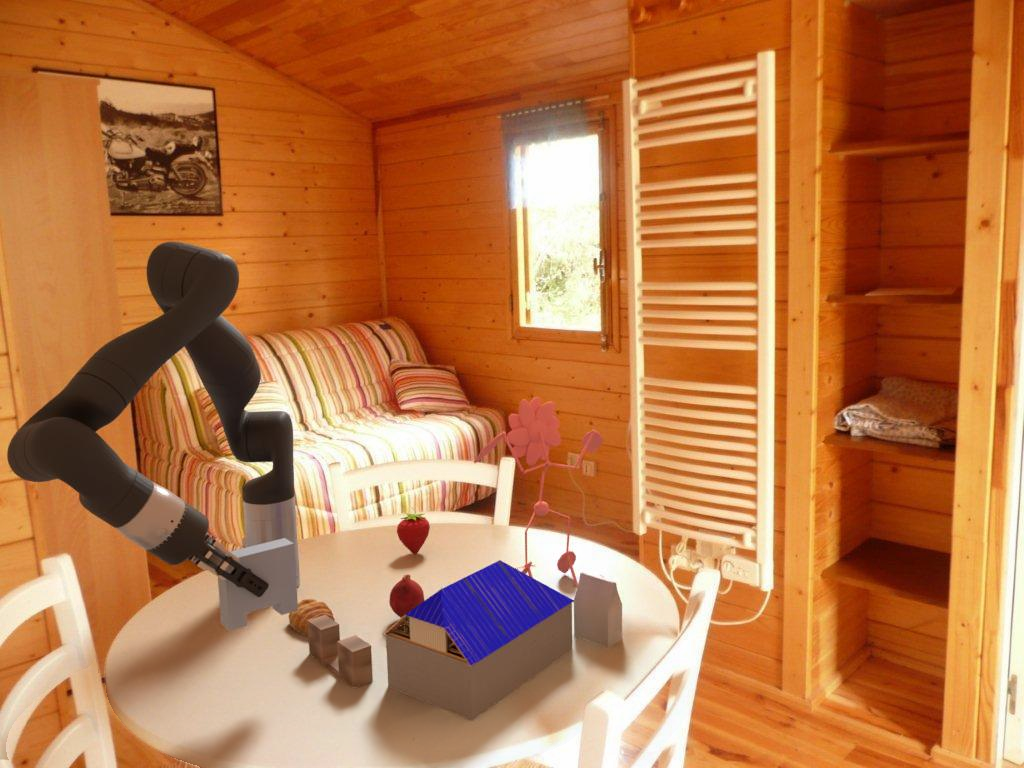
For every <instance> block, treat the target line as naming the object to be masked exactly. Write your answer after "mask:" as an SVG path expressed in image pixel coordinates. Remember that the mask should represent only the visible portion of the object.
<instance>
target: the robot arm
mask: <svg viewBox="0 0 1024 768" xmlns="http://www.w3.org/2000/svg"><path fill="white" fill-rule="evenodd" d="M146 281H147V285H148V289H149V291H150V294H151V295H152V297H153V299H154V301H155V303H156V304H157V305H158V307H159V308H160V310H161V311H162V312H163V314H162V315H159V316H158V317H157V318H154V319H151V320H150V321H148V322H146V323H144V324H143V325H140V326H138V327H136V328H133V329H131V330H128V331H127V332H125V333H122V334H120V335H119V336H116V337H115V338H113V339H112V340H110V341H109V342H107V343H105V344H104V345H102V346H101V347H100V348H99V349H98V350H97V351H96V352H94V353H93V355H92V356H90V358H89V359H88V360H87V361H86V362H85V364H84V365H82V367H81V368H80V369H79V370H78V371H77V372H76V373H75V374H74V376H73V377H72V378H71V379H70V380H69V382H68V383H67V385H66V386H64V388H63V389H62V390H61V391H60V392H59V393H58V394H56V395H55V396H54V397H53V398H51V399H50V400H48V402H46V404H44V405H43V406H42V407H40V409H38V411H36V412H35V413H34V414H33V415H31V416H30V418H29V419H28V420H27V421H26V422H24V423H23V424H22V426H21V427H20V428H19V429H18V430H17V431H16V432H15V433H14V434H13V436H12V438H11V439H10V441H9V444H8V447H7V452H6V459H7V463H8V466H9V467H10V469H11V471H12V472H13V473H14V475H16V476H17V477H19V478H20V479H22V480H25V481H27V482H32V483H33V482H34V483H44V482H50V481H54V480H59V481H61V482H63V483H64V484H66V485H68V486H69V487H71V488H72V489H73V490H74V491H75V492H77V493H78V500H79V503H80V504H81V506H82V507H83V508H84V509H85V510H87V511H88V512H89V513H91V514H92V515H94V516H95V517H97V518H98V519H100V520H102V521H103V522H105V523H107V524H108V525H109V526H111V527H113V528H114V529H116V530H117V531H118V532H120V533H121V534H122V535H123V536H124V537H125V538H127V540H129V541H131V542H132V543H134V544H135V545H137V546H139V547H140V548H142V549H143V550H145V551H146V552H148V553H150V554H152V555H153V556H155V557H156V558H158V559H159V560H161V561H163V562H165V564H168V565H170V566H177V565H179V564H183V563H184V562H185V561H187V560H189V561H191V562H192V563H193V564H194V565H196V566H197V567H198V568H200V569H201V570H203V571H208V572H210V573H211V574H213V575H215V577H217V578H218V577H219V578H220V579H222V580H225V579H227V580H229V581H231V582H232V583H234V584H235V585H236V586H237V587H238V588H239V587H241V588H242V587H243V588H245V589H246V590H248V591H249V592H251V593H252V594H254V595H256V596H257V597H261V596H262V595H263V594H264V592H265V591H266V590H267V588H268V587H269V584H268V583H267V582H265V581H264V580H262V579H261V578H259V577H258V576H256V575H255V574H253V572H251V569H249V568H248V567H244V566H243V565H241V564H240V563H239V558H238V557H236V556H235V555H234V554H232V553H231V551H229V550H228V549H227V548H225V546H224V545H223V544H222V543H221V542H219V541H218V540H216V539H215V538H214V537H212V536H210V535H209V534H208V531H209V527H210V523H209V522H210V521H209V519H208V517H207V515H205V514H204V513H202V512H201V511H199V510H198V509H197V508H195V507H193V506H192V505H191V504H190V503H188V502H186V501H185V500H184V499H182V498H181V497H179V496H178V495H176V494H174V493H173V492H172V491H170V490H169V489H167V488H166V487H164V486H161V485H159V484H157V483H156V482H154V481H153V480H151V479H149V478H148V477H146V476H145V475H143V473H140V472H139V471H138V470H136V469H135V468H133V467H131V466H130V465H129V464H126V463H125V462H124V461H123V459H122V458H121V457H120V456H119V455H118V454H117V452H116V451H115V450H114V449H113V447H111V446H110V445H109V444H108V443H107V442H106V440H104V438H103V437H102V436H100V434H98V432H97V431H99V430H100V429H102V428H104V427H106V426H107V425H109V424H111V423H113V422H114V421H115V420H116V419H117V418H118V417H120V415H121V414H122V413H123V412H124V411H125V409H126V408H127V407H128V406H129V404H130V403H131V402H132V401H133V399H135V397H136V396H137V395H138V393H139V392H140V391H141V390H142V388H143V387H144V386H145V384H147V383H148V381H149V380H150V379H151V378H152V377H153V376H154V375H155V373H157V372H158V371H159V370H160V368H162V366H164V364H166V363H167V362H168V361H169V360H170V359H171V358H173V357H174V356H176V354H177V353H179V352H180V351H181V350H182V349H183V348H184V349H185V350H186V352H187V354H188V356H189V357H190V360H191V361H192V363H193V366H194V369H195V371H196V373H197V376H198V377H199V380H200V382H201V383H202V385H203V386H204V389H205V390H206V392H207V394H208V396H209V398H210V400H211V402H212V404H213V407H214V408H215V410H216V413H217V415H218V418H219V420H220V423H221V426H222V428H223V429H222V430H223V431H224V435H225V437H226V438H225V439H226V440H227V441H226V442H227V443H228V447H229V449H230V452H231V453H232V455H233V457H234V458H235V459H236V460H238V462H244V463H267V462H268V463H271V462H272V469H271V470H270V471H268V472H267V473H264V474H262V475H260V476H257V477H255V478H252V479H249V480H248V481H246V482H245V483H244V484H243V485H242V489H241V493H242V495H241V496H242V508H243V519H244V533H245V536H244V537H242V539H241V544H242V549H243V548H247V547H251V546H255V545H259V544H263V543H267V542H271V541H275V540H279V539H283V538H285V539H287V540H289V541H291V542H292V543H294V553H295V569H296V585H297V588H298V587H299V586H300V585H301V577H300V576H301V575H300V559H299V558H300V557H299V542H298V525H297V509H296V494H295V471H294V469H295V468H294V465H295V464H294V428H293V421H292V417H291V416H290V414H289V413H288V412H286V411H281V410H272V411H271V410H269V411H268V410H267V411H248V410H246V409H245V408H246V407H247V405H248V404H249V403H250V402H251V400H252V399H253V398H254V396H255V394H256V393H257V390H258V389H259V387H260V383H261V379H262V372H261V367H260V365H259V361H258V359H257V357H256V355H255V352H254V349H253V347H252V345H251V343H250V342H249V340H248V339H247V338H246V337H245V336H244V334H243V333H242V332H241V331H239V329H238V328H237V327H235V326H234V325H233V324H232V323H231V322H230V321H228V319H226V318H225V317H224V316H223V315H222V314H223V313H224V312H225V311H226V310H227V309H228V307H229V306H230V305H231V303H232V302H233V300H234V298H235V297H236V294H237V291H238V289H239V284H240V283H239V282H240V271H239V268H238V265H237V262H236V261H235V260H234V258H232V257H231V256H230V255H227V254H225V253H223V252H220V251H217V250H214V249H211V248H206V247H203V246H199V245H194V244H190V243H186V242H182V241H166V242H162V243H160V244H159V245H157V246H156V247H154V249H153V250H152V251H151V252H150V254H149V256H148V259H147V264H146ZM225 554H226V555H228V556H226V555H225Z"/></svg>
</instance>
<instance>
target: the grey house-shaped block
mask: <svg viewBox="0 0 1024 768" xmlns="http://www.w3.org/2000/svg"><path fill="white" fill-rule="evenodd" d="M577 583H578V585H577V588H576V591H575V595H574V598H573V600H574V602H573V635H574V636H575V635H576V637H578V638H580V637H581V639H582V640H586V641H588V640H589V642H592V643H595V644H597V645H599V646H603V647H604V648H608V649H609V648H611V647H612V646H614V645H616V644H618V643H619V642H620V641H622V640H623V603H622V600H621V597H620V594H619V591H618V587H617V582H615V581H612V580H610V579H609V580H608V579H606V578H603V577H602V578H601V577H599V576H595V575H592V574H588V573H585V572H580V574H579V578H578V582H577Z"/></svg>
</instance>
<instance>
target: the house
mask: <svg viewBox="0 0 1024 768" xmlns="http://www.w3.org/2000/svg"><path fill="white" fill-rule="evenodd" d="M515 568H516V567H514V566H511V565H510V564H508V563H506V562H504V561H502V560H500V559H499V560H497V561H495V562H493V563H491V564H488V565H487V566H485V567H483V568H481V569H479V570H478V571H475V572H473V573H471V574H469V575H467V576H464V577H463V578H461V579H459V580H456V581H455V582H453V583H451V584H449V585H447V586H445V587H441V588H440V589H439V590H438V591H436V592H434V594H432V595H430V596H429V597H428V598H426V599H424V602H422V603H421V604H419V605H418V606H417V607H415V608H414V609H412V610H411V611H409V612H408V613H407V614H405V615H404V616H403V617H402V618H401V617H400V619H398V621H397V622H395V623H394V624H393V625H392V626H390V628H388V629H387V630H386V631H385V632H384V633H383V634H382V636H383V637H384V636H385V644H386V665H387V666H386V667H387V669H386V670H387V687H388V688H391V689H393V690H395V691H398V692H401V693H403V694H406V695H408V696H410V697H413V698H416V699H417V700H420V701H423V702H425V703H427V704H430V705H433V706H434V707H438V708H439V709H442V710H445V711H447V712H449V713H451V714H455V715H457V716H459V717H462V718H464V719H467V720H469V721H474V720H476V719H477V718H479V717H480V716H481V715H483V714H484V713H485V712H487V711H489V709H491V708H492V707H494V706H495V705H496V704H498V703H499V702H501V701H502V700H504V699H505V698H507V697H508V696H509V695H510V694H512V693H513V692H515V691H516V690H518V689H519V688H520V687H522V686H523V685H525V684H526V683H527V682H529V681H531V680H532V679H533V678H534V677H536V676H537V675H538V674H540V673H542V672H543V671H544V670H546V669H548V667H550V666H551V665H553V664H554V663H555V662H557V661H558V660H559V659H561V658H562V657H564V656H565V655H567V654H568V653H570V652H571V651H572V650H573V603H574V599H572V598H570V597H568V596H566V595H565V594H563V593H561V592H560V591H558V590H556V589H554V588H552V587H550V586H548V585H547V584H544V583H543V582H542V581H539V580H537V579H535V578H534V577H533V576H532V577H533V578H532V577H530V576H529V574H527V573H526V574H525V573H523V572H522V571H521V570H519V569H518V568H517V569H515ZM545 668H546V669H545Z"/></svg>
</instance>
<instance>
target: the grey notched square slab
mask: <svg viewBox="0 0 1024 768" xmlns="http://www.w3.org/2000/svg"><path fill="white" fill-rule="evenodd" d="M230 552H231V553H232V554H234V555H235V556H236V557H238V558H239V563H240V564H241V565H243V566H244V567H248V568H249V569H251V572H253V574H255V575H256V576H258V577H259V578H261V579H262V580H264V581H265V582H267V583H268V584H269V587H268V588H267V590H266V591H265V592H264V594H263V595H262V596H261V597H257V596H256V595H254V594H252V593H251V592H249V591H248V590H246V589H245V588H243V587H242V588H241V587H239V588H238V587H237V586H236V585H235V584H234V583H232V582H231V581H229V580H227V579H225V580H222V579H220V578H219V577H217V585H218V588H217V589H218V598H219V611H220V613H219V614H220V622H221V623H220V624H221V625H222V626H223V627H224V628H225V629H227V631H229V632H232V631H235V630H238V629H242V628H245V627H248V615H247V614H249V613H253V612H255V611H256V612H257V611H259V610H263V609H267V608H270V607H272V609H273V610H274V611H275V612H277V613H278V614H280V616H284V615H287V614H289V613H290V612H294V611H297V610H298V603H299V601H298V589H297V588H298V587H297V585H296V569H295V553H294V543H292V542H291V541H289V540H287V539H285V538H283V539H279V540H275V541H271V542H267V543H263V544H259V545H255V546H251V547H247V548H243V547H242V548H239V549H235V550H231V551H230ZM225 555H226V554H225ZM226 556H228V555H226Z"/></svg>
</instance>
